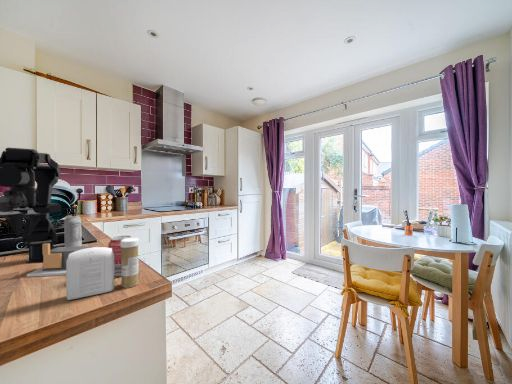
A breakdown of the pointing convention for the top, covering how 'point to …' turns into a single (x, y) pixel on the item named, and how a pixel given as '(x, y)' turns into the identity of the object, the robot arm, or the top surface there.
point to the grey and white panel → (62, 270)
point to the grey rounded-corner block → (89, 272)
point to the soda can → (117, 253)
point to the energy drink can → (73, 231)
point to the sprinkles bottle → (129, 262)
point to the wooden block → (51, 257)
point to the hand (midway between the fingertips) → (23, 235)
